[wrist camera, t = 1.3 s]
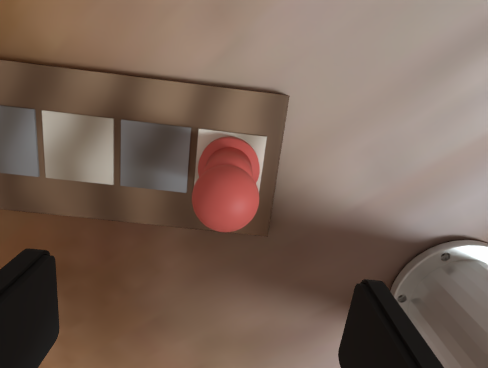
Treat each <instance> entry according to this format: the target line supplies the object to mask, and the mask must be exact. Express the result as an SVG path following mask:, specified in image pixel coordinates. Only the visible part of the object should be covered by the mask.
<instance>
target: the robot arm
mask: <svg viewBox="0 0 488 368" xmlns="http://www.w3.org/2000/svg"><path fill="white" fill-rule="evenodd" d="M58 334H59V315H58V298H57V281H56V265H55V258H54V256H50V253H49V251H47V250H38V249H25V250H23V251H22V252H21V253H20V254H18V255H17V256H16V257H15V258H14V259H12V260H11V261H10V262H9V263H8V264H6V265H5V266H4V267H3V268H2V269H0V368H38V367H39V365H40V364H41V362H42V361H43V359H44V358H45V356H46V355H47V353H48V352H49V350H50V349H51V347H52V346H53V344H54V343H55V341H56V339H57V337H58ZM338 356H339V363H340V366H341V368H488V243H484V242H481V241H474V240H458V241H451V242H447V243H443V244H440V245H437V246H435V247H432V248H430V249H428V250H426V251H424V252H423V253H421V254H419V255H418V256H416V257H415V258H414V259H413V260H412V261H410V262H409V263H408V264H407V265H406V266H405V267H404V268H403V270H402V271H401V272H400V273H399V275H398V276H397V278H396V280H395V281H394V283H393V285H392V288H391V291H389V289H388V288H387V286H386V285H385V284H384V283H383V282H382V281H376V280H365V279H364V280H362V282H361V284H357V285H356V286H355V289H354V293H353V297H352V301H351V305H350V309H349V313H348V316H347V320H346V324H345V328H344V332H343V336H342V340H341V344H340V347H339V353H338Z"/></svg>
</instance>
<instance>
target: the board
mask: <svg viewBox="0 0 488 368" xmlns="http://www.w3.org/2000/svg"><path fill="white" fill-rule="evenodd" d="M288 102H289V96H288V95H282V94H274V93H266V92H258V91H250V90H242V89H234V88H226V87H218V86H210V85H202V84H194V83H186V82H177V81H169V80H161V79H153V78H145V77H137V76H129V75H121V74H113V73H105V72H97V71H89V70H80V69H72V68H64V67H56V66H48V65H40V64H32V63H24V62H16V61H8V60H0V209H4V210H14V211H24V212H34V213H43V214H53V215H63V216H73V217H83V218H92V219H102V220H112V221H122V222H131V223H141V224H151V225H161V226H171V227H180V228H190V229H200V230H210V231H215V230H212V229H210V228H208V227H207V226H205V225H204V224H203V223H202V222H201V221H200V220H199V219H198V217H197V216H196V214H195V212H194V209H193V205H192V192H193V188H194V185H195V183H196V181H197V180H198V178H199V175H198V163H199V159H200V157H201V155H202V153H203V151H204V149H205V148H206V147H207V145H209V144H210V143H211V142H212V141H214V140H216V139H218V138H221V137H228V136H229V137H237V138H240V139H242V140H244V141H246V142H247V143H248V144H250V145H251V147H252V148H253V149H254V150H255V152H256V154H257V157H258V161H259V166H260V173H259V178H258V180H257V182H256V185H257V188H258V191H259V206H258V209H257V212H256V214H255V216H254V217H253V219H252V220H251V221H250V222H249V223H248V224H247V225H246V226H244V227H243V228H241V229H239V230H236V231H232V232H229V233H239V234H249V235H259V236H268V230H269V224H270V218H271V211H272V205H273V198H274V192H275V185H276V179H277V173H278V166H279V160H280V153H281V147H282V140H283V134H284V128H285V121H286V115H287V108H288Z"/></svg>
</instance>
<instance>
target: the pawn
mask: <svg viewBox="0 0 488 368" xmlns="http://www.w3.org/2000/svg"><path fill="white" fill-rule="evenodd" d="M259 173H260V166H259V161H258V157H257V154H256V152H255V150H254V149H253V148H252V147H251V145H250V144H248V143H247V142H246V141H244V140H242V139H240V138H237V137H229V136H228V137H221V138H218V139H216V140H214V141H212V142H211V143H210V144H209V145H207V147H206V148H205V149H204V151H203V153H202V155H201V157H200V159H199V163H198V175H199V178H198V180H197V181H196V183H195V185H194V188H193V192H192V205H193V209H194V212H195V214H196V216H197V217H198V219H199V220H200V221H201V222H202V223H203V224H204V225H205V226H207V227H208V228H210V229H212V230H215V231H219V232H232V231H236V230H239V229H241V228H243V227H244V226H246V225H247V224H248V223H249V222H250V221H251V220H252V219H253V217H254V216H255V214H256V212H257V209H258V206H259V191H258V188H257V185H256V182H257V180H258V178H259Z"/></svg>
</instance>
